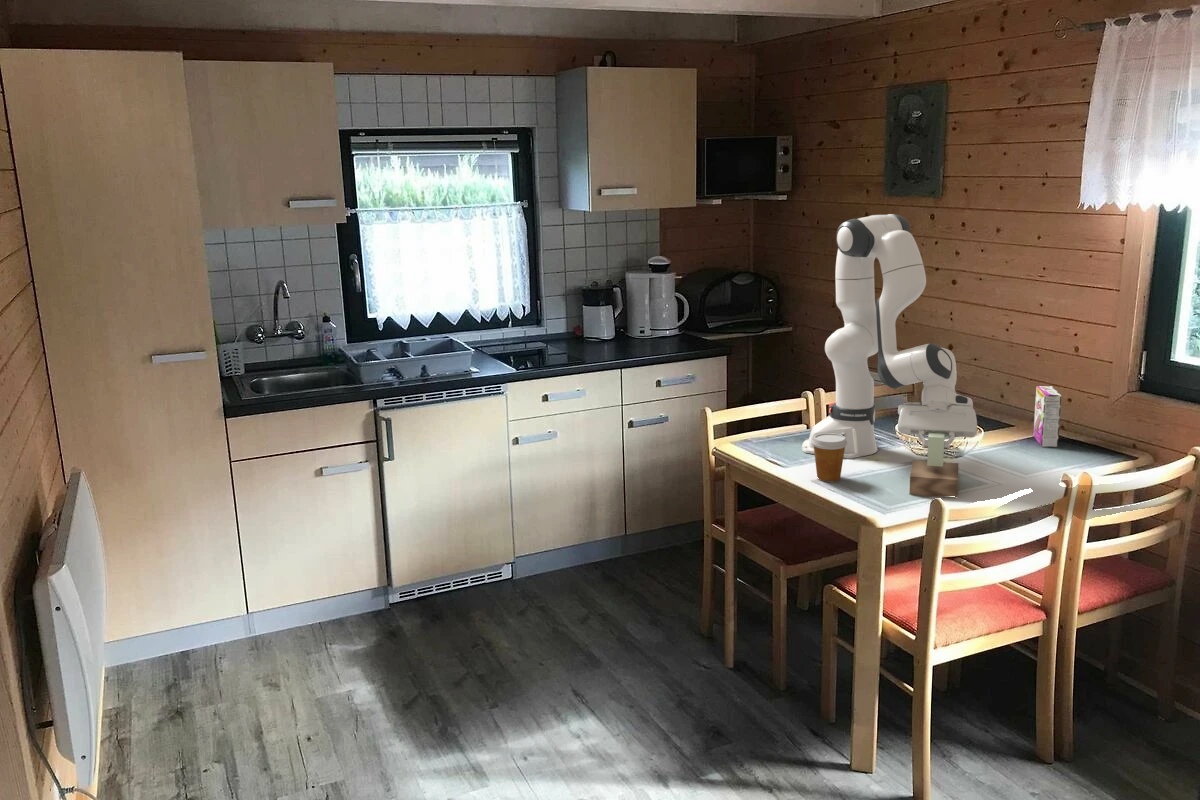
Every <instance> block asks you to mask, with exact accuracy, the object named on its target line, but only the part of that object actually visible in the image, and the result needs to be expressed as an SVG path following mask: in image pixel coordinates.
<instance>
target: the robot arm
mask: <svg viewBox="0 0 1200 800" xmlns="http://www.w3.org/2000/svg"><path fill="white" fill-rule="evenodd" d="M835 241H836V242H835V243H836V246H837V253H836V261H835V271H834V272H835V276H834V277H835V279H834V280H835V304H836V307H837V308H838V309H839V310H840V312H841V316H842V319H843V322H844V323H843V325H844V326H843V327H841V328H838V329H836V330H835V331H833V332H832V333H831V334H830V336H829V337H827V339H826V341H825V344H824V352H825V354H826V356H827V358H828V360H829V361H830V362H831V365H832V368H833V372H834V377H835V402H834V401H830V403H829V405H828V416H827V417H824V418H823V419H822V420H820V421H819V422H817V423H816V424H815V425H814V426H813V427H812V428H811V431H810V434H809V438H807V439H804V441H803V442H802V445H801V450H802V452H803V453H806V454H811V455H815V453H814V446H813V443H812V440H813V438H814V436H815V435H817V434H822V433H834V434H840V435H843V436H844V437H845V439H846V441H847V444H846V446H845V451H844V457H843V459H857V458H859V457H864V456H871V455H873V454H875V453H877V452H878V446H877V443H876V438H875V437H876V436H875V425H874V424H875V420H876V419H875V418H876V408H875V404H874V394H875V391H874V389H875V385H874V384H875V380H874V378H873V377H872V376H871V373H870V370H869V366H868V359H869V357H872V356H874V355H876V354H877V353H878V354H877V355H878V356H877V374H878V378H879V380H880V381H881V383H882V384H883V385H885V386H886V387H888V388H891V389H893V390H897V389H900V388H903V387H906V386H908V385H909V386H910V385H912V384H913V385H914V384H916V383H918V384H919V383H921V382H922V383H923V388H922V390H921V402H919V401H916V402H915V401H914V402H913V401H912V402H910V401H904V402H902V403H900V404H899V405H898V407H897V415H899V416H898V422H897V431H898V432H899V433H900V434H903V435H918V439H919V440H920V442H921V443H922V445H921V446H922V449H928V439H925V435H926V436H928V435H929V433H945V435H944V437H948V440H944V450H946V451H947V450H949V451H950V448H951V446H950V445H951V444H952V443H953V442H954V440H955V437H960V438H961V437H963V438H974V437H976V435H978V420H977V418H978V417H977V414H976V410H975V409H974V408H973V407H974V403H973V399H972V398H971V397H968V396H965V395H961V394H958V393H957V392H956V387H955V386H956V384H957V376H958V375H957V373H958V372H957V363H956V358H955V354H954V353H953V352H952V350H950V349H947V348H944V347H940V346H939V345H937V344H936V343H926V344H922V345H918V346H914V347H911V348H906V349H903V350H898V347H897V330H896V323H897V322H896V321H897V319H898V317H899V315H900V314H901V313H902V312H903V311H904V310H905V309H906V308H907V307H908V306H910V305H911V304H913V303H914V302H915V301H917V299H918V298H919V297H920V296H921V295H922V294H923V292H924V291H925V288H926V285H927V276H926V275H927V274H926V270H925V265H924V261H923V258H922V256H921V253H920V249H919V247H918V244H917V242H916V240H915V238H914V236H913V234H912V233H911V227H910V223H909V221H908V220H907V219H906V217H904V216H902V215H899V214H896V213H895V214H893V213H888V214H872V215H869V216H865V217H859V218H852V219H848V220H845V221H844V222H842V223H841V224H840V225H839V226H838V228H837V230H836V235H835ZM875 259H877V260H878V263H879V265H880V271H881V272H880V273H881V275H882V282H883V283H882V292H881V294H880V296H879V297H878V298H877V299H876V298H875V297H876V294H875V268H874V267H875Z"/></svg>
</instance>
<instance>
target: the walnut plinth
mask: <svg viewBox="0 0 1200 800" xmlns="http://www.w3.org/2000/svg"><path fill="white" fill-rule="evenodd" d="M959 469H960V468H959V463H958V462H947V461H945V462H944V461H943V466H927V460H914V459H913V460H911V468H910V476H909V491H908V493H909V495H913V494H914V496H915V495H916V496H927V497H939V496H955V497H958V496H959Z"/></svg>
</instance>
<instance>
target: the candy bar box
mask: <svg viewBox="0 0 1200 800" xmlns="http://www.w3.org/2000/svg"><path fill="white" fill-rule="evenodd" d="M1061 405H1062V395H1061V393H1060V392H1059V391H1058V390H1056V389H1055V387H1054V386H1052V385H1050V386H1049V385H1048V386H1047V385H1043V386H1042V385H1039V386H1037V385H1036V388H1035V406H1034V420H1033V433H1032V436H1033V438H1034V439H1035V441H1037V443H1038V444H1039V445H1040V447H1042V448H1058V446H1059V433H1060V422H1061V421H1060V419H1061Z"/></svg>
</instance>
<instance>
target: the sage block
mask: <svg viewBox="0 0 1200 800" xmlns="http://www.w3.org/2000/svg"><path fill="white" fill-rule="evenodd" d="M944 435H945V433H929V435H927V440H928V448H927V457H926V458H927V460H926V461H927V466H943V462H944V453H945V449H944V441H945V436H944Z"/></svg>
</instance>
